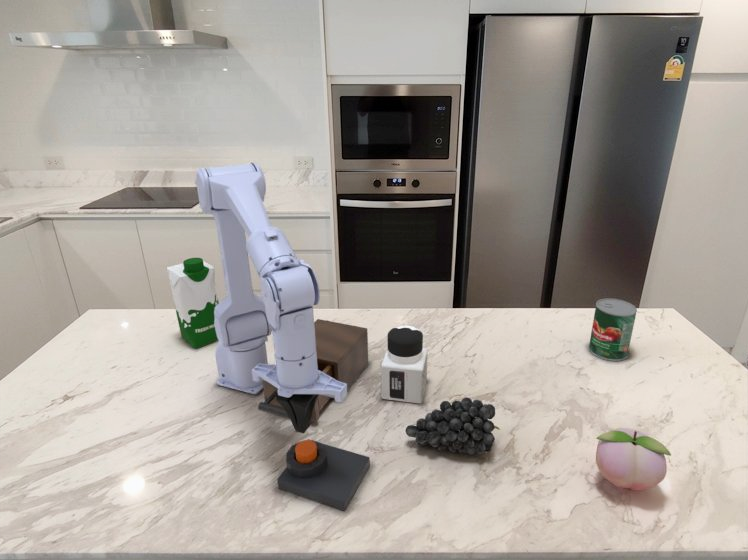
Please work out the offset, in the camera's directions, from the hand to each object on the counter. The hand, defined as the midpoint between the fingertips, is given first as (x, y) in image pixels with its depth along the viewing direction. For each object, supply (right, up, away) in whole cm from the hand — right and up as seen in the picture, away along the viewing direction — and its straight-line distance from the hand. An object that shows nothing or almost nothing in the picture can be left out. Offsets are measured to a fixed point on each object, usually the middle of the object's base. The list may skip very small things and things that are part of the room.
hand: (303, 428), depth 72 cm
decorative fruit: (+48, -8, 0) cm, 48 cm away
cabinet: (+1, +2, +26) cm, 26 cm away
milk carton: (-30, +8, +41) cm, 52 cm away
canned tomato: (+61, +6, +34) cm, 70 cm away
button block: (+3, -8, +2) cm, 9 cm away
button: (0, -5, +1) cm, 5 cm away
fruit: (+23, -5, +8) cm, 25 cm away
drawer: (-3, -1, +17) cm, 17 cm away
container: (+16, 0, +22) cm, 27 cm away
